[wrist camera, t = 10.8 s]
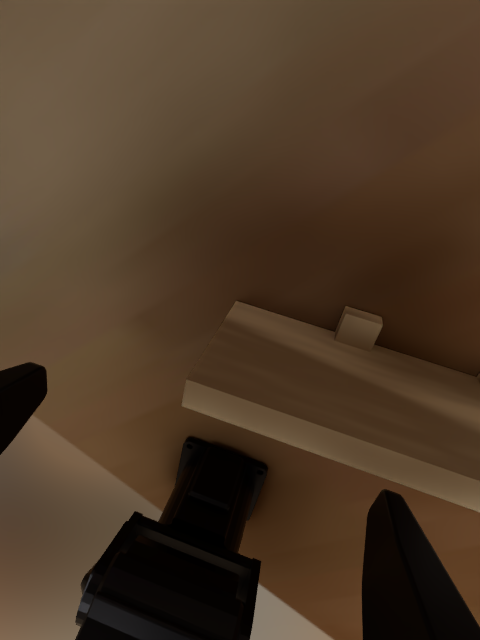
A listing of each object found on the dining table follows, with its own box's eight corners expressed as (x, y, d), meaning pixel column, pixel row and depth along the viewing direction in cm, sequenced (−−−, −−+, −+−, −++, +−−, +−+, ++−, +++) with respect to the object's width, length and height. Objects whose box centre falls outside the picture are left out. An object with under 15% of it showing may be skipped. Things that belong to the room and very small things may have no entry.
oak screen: (482, 430, 22) (543, 568, 15) (225, 345, 24) (176, 434, 17) (533, 363, 20) (633, 492, 13) (242, 274, 21) (192, 344, 15)
